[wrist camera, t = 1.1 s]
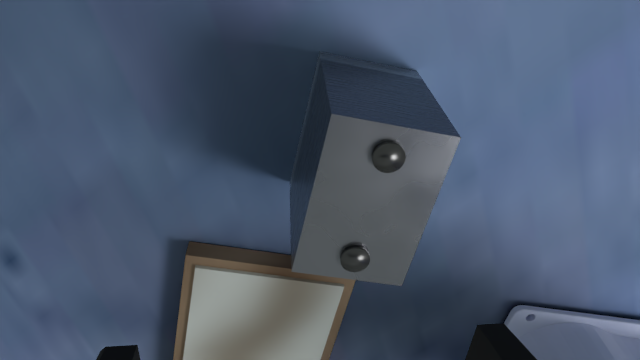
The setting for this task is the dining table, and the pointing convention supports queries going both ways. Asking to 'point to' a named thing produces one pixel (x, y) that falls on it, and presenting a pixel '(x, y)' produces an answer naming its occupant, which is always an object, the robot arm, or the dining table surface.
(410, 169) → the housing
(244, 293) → the wooden picture frame
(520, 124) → the dining table surface
